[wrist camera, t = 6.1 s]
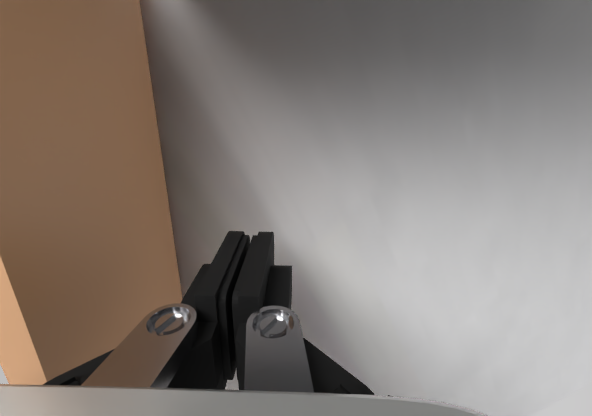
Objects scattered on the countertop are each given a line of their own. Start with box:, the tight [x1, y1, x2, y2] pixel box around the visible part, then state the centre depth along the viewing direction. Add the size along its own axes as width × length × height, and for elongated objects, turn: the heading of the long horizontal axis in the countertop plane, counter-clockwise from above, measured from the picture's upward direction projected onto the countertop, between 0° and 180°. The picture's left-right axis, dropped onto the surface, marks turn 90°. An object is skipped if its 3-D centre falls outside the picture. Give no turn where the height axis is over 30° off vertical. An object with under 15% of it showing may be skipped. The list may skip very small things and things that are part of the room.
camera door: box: [0, 0, 183, 385], centre depth 10 cm, size 2×16×8 cm, turn 0°
